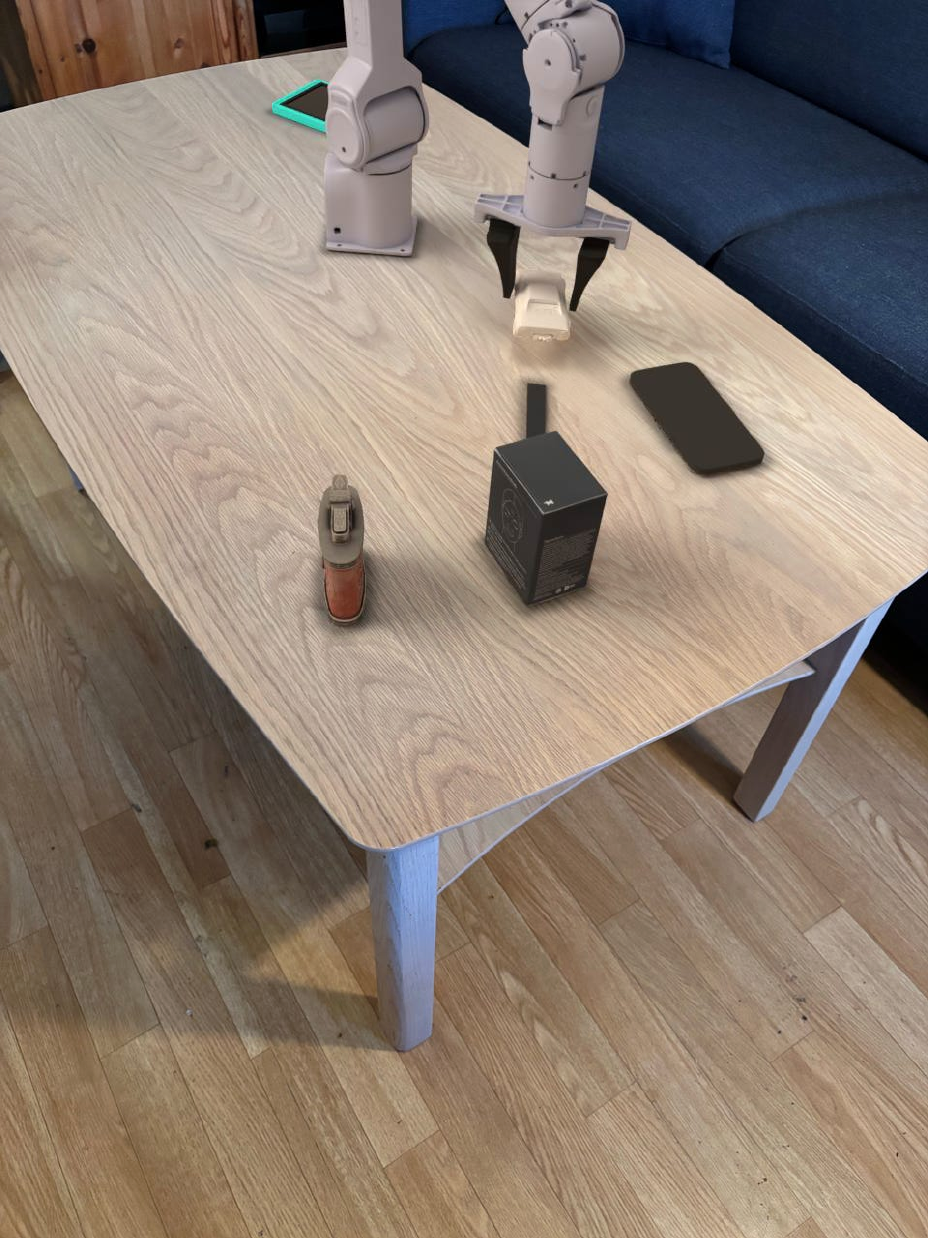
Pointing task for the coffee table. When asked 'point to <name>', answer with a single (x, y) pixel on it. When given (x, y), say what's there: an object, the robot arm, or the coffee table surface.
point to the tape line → (536, 410)
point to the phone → (696, 418)
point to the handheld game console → (305, 105)
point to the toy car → (540, 305)
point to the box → (543, 516)
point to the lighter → (342, 552)
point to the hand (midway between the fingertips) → (541, 299)
